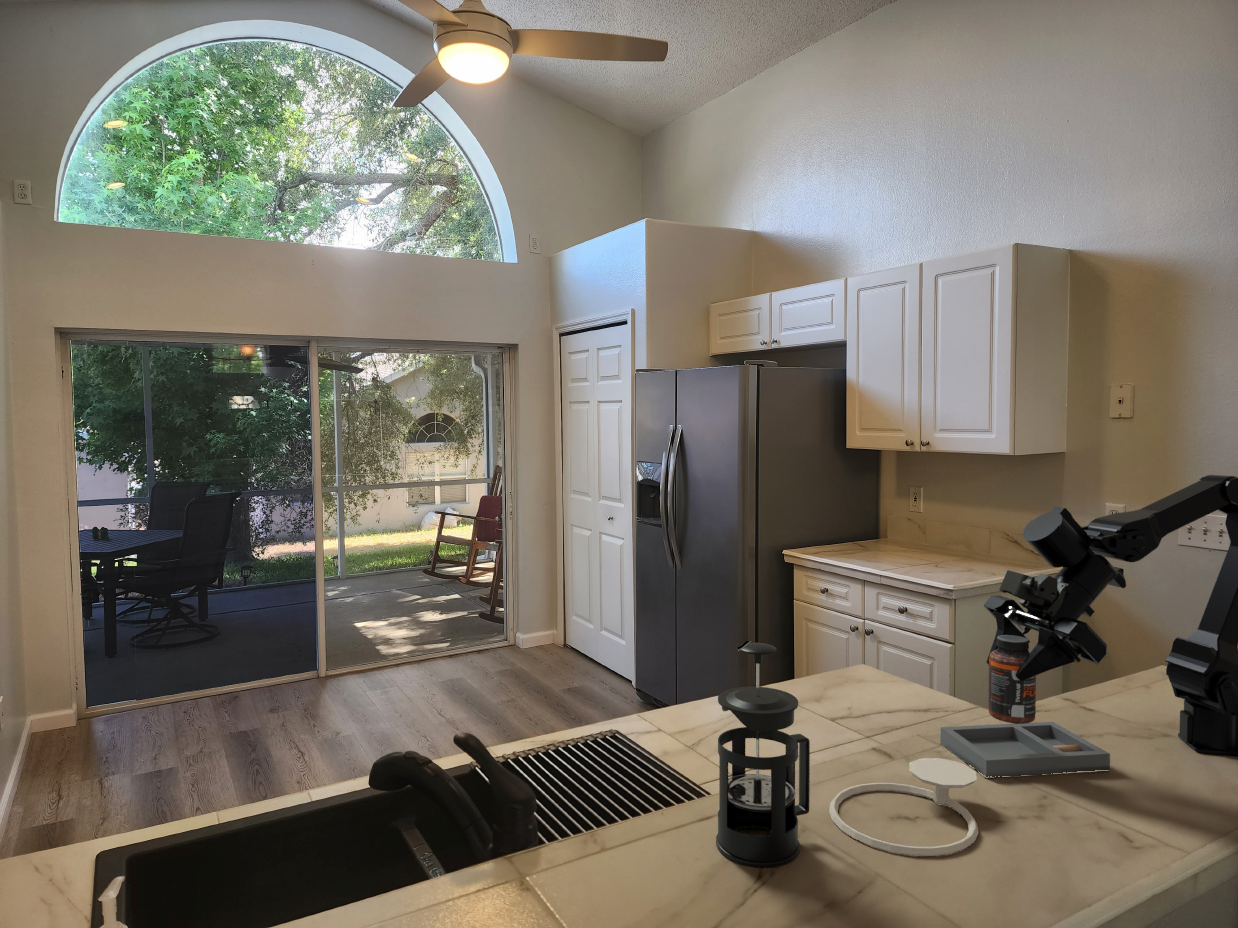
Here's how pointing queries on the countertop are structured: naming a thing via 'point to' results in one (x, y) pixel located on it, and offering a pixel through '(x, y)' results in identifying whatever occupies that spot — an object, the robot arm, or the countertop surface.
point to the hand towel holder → (928, 772)
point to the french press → (757, 794)
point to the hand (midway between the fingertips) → (1003, 671)
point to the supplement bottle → (1011, 682)
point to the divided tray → (1023, 749)
